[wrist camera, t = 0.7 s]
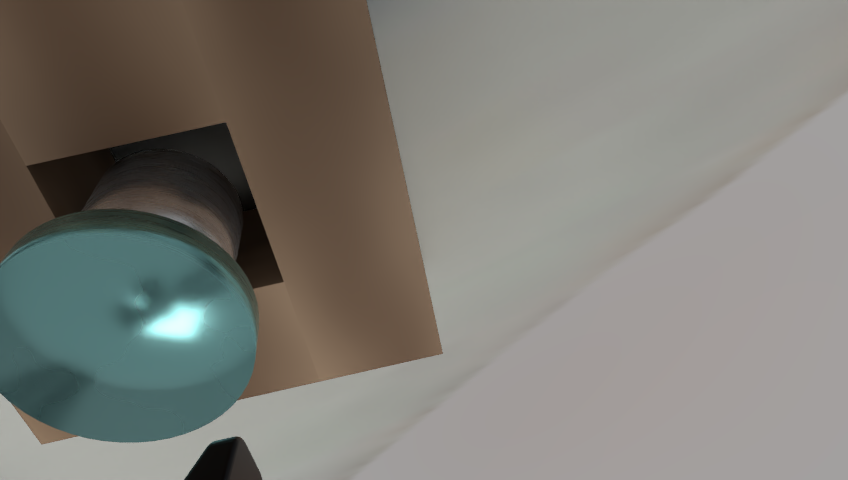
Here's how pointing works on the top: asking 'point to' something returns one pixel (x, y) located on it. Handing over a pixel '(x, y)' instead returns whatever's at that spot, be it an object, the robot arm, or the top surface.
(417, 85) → the top surface
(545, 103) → the top surface
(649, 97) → the top surface
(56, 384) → the plunger teal
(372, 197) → the walnut block
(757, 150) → the top surface
